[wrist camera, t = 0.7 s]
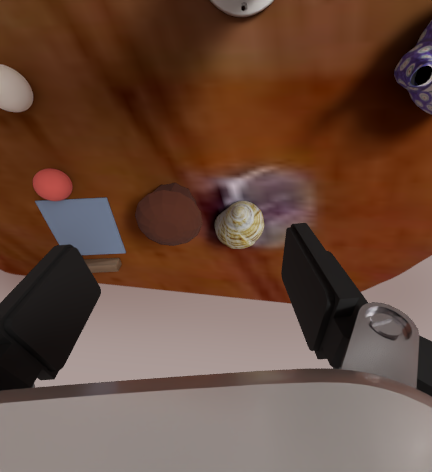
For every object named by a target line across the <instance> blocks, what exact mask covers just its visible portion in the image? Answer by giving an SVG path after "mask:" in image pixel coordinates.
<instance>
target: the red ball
mask: <svg viewBox="0 0 432 472" xmlns="http://www.w3.org/2000/svg"><path fill="white" fill-rule="evenodd" d="M33 187H34V189H35V191H36V192H37V194H38V195H40V196H41V197H42V198H44V199H46V200H50V201H61V200H64V199H66V198H67V197H68V196H69V195H70V194H71V192H72V188H73V186H72V182H71V180H70V178H69V177H68V176H67V175H66V174H65V173H64V172H62V171H60V170H57V169H50V168H49V169H43V170H41V171H39V172H38V173H37V174H36V175H35V176H34V178H33Z"/></svg>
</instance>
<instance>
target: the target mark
mask: <svg viewBox="0 0 432 472" xmlns="http://www.w3.org/2000/svg"><path fill="white" fill-rule="evenodd" d="M35 202H36V204H37V206H38V208H39V209H40V211H41V213H42V215H43V217H44V218H45V220H46V222H47V224H48V226H49V227H50V229H51V231H52V233H53V234H54V236H55V238H56V240H57V242H58V243H59V245H68V244H70V245H72V246H74V247H76V248H77V249H78V250H79V252H80V254H81V255H97V254H118V253H126V251H125V249H124V246H123V243H122V240H121V237H120V234H119V231H118V228H117V226H116V223H115V220H114V217H113V214H112V211H111V208H110V206H109V203H108V200H107V198H85V199H64V200H61V201H50V200H41V201H35Z"/></svg>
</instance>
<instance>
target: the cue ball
mask: <svg viewBox="0 0 432 472" xmlns="http://www.w3.org/2000/svg"><path fill="white" fill-rule="evenodd" d="M32 103H33V92H32V89H31V87H30V85H29V83H28V82H27V80H26V79H25V78H24V77H23V76H22V75H21V74H20V73H18V72H17V71H16V70H14V69H12V68H10V67H8V66H5V65H2V64H0V108H1V109H3V110H6V111H10V112H22V111H25V110H27V109H28V108H29V107H30V106H31V105H32Z"/></svg>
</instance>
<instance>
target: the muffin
mask: <svg viewBox="0 0 432 472" xmlns="http://www.w3.org/2000/svg"><path fill="white" fill-rule="evenodd" d="M135 217H136V220H137V223H138V226H139V228H140V230H141V231H142V232H143V233H144V234H145V235H146V236H147V237H148V238H149V239H151V240H153V241H155V242H157V243H159V244H163V245H172V246H174V245H178V244H183V243H187V242H189V241H190V240H191V239H193V238H194V237H195V236H197V235H198V233H199V230H200V228H201V226H202V217H201V211H200V210H199V209H198V207H197V205H196V201H195V199H194V198H193V197H192V195H191V193H190V191H189V189H187V188H185V187H182V186H180V185H178V184H176V183H172V184H166V185H160V186H159V187H158V188H157V189H156V190H155V191H154V192H153V193H150V194H148V195H146V196H145V197H144V198H143V199H142V200H141V201H140V202H139V203H138V206H137V210H136V214H135Z"/></svg>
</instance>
